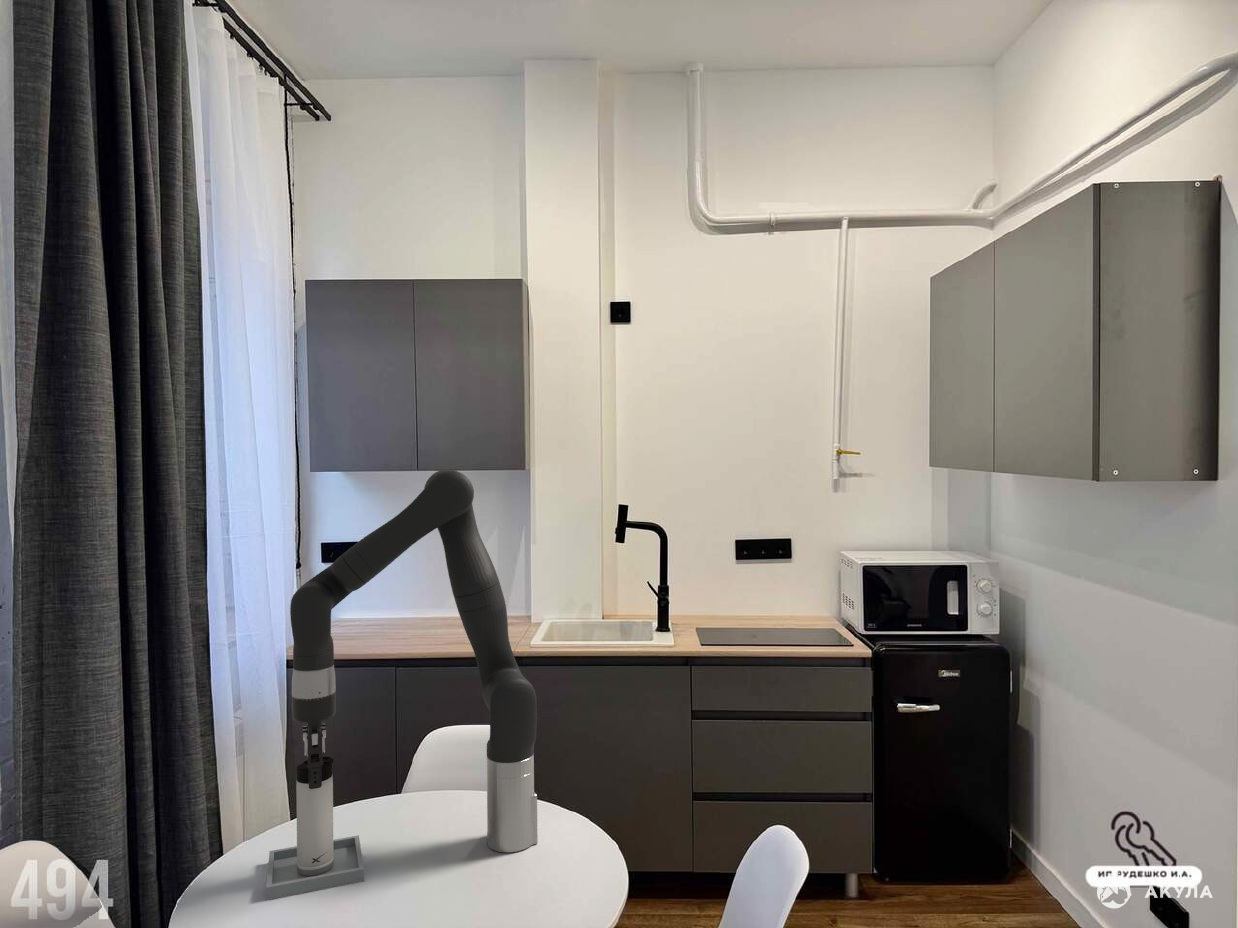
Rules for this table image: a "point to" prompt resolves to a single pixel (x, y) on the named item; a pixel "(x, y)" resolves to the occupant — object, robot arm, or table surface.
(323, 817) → the travel mug
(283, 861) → the tray
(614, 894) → the table surface
